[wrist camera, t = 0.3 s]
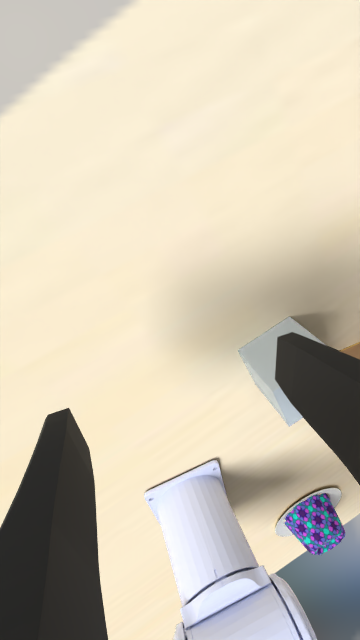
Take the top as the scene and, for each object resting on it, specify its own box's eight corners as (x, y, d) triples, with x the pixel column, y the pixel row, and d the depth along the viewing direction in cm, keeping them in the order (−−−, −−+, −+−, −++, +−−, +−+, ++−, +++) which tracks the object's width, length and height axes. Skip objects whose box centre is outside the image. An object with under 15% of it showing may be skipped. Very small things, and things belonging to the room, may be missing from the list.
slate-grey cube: (301, 353, 27) (343, 391, 23) (255, 383, 27) (289, 426, 23) (288, 315, 24) (334, 351, 20) (237, 349, 24) (272, 391, 20)
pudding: (288, 493, 42) (313, 533, 38) (349, 476, 47) (378, 510, 43) (262, 539, 48) (282, 578, 44) (319, 520, 52) (342, 553, 48)
